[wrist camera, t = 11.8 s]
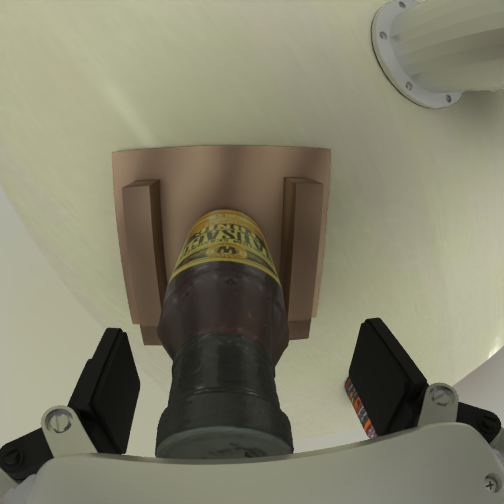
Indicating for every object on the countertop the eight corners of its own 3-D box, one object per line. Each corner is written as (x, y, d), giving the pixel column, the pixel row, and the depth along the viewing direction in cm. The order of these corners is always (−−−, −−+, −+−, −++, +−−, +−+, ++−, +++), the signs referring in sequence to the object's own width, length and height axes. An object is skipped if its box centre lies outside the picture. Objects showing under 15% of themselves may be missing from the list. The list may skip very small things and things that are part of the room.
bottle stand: (324, 148, 25) (350, 151, 20) (311, 309, 31) (329, 340, 26) (117, 151, 23) (93, 154, 18) (135, 315, 29) (123, 349, 23)
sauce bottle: (265, 207, 25) (388, 385, 6) (257, 276, 27) (322, 492, 8) (185, 202, 24) (102, 387, 5) (182, 273, 26) (145, 497, 8)
